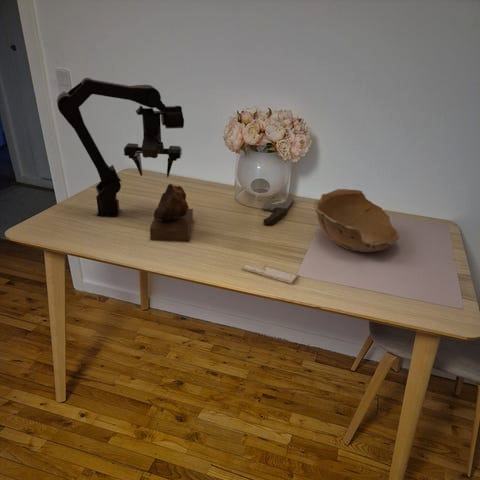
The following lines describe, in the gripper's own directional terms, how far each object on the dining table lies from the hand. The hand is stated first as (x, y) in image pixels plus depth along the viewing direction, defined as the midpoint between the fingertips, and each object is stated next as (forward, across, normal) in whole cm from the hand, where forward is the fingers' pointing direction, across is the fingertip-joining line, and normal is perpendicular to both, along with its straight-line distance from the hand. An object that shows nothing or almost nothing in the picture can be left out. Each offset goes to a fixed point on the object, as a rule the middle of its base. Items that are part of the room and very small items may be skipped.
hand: (154, 176), depth 153 cm
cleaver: (+12, +44, +4) cm, 46 cm away
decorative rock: (+8, +8, -17) cm, 20 cm away
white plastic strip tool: (+12, +39, -44) cm, 60 cm away
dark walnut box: (+12, +8, -17) cm, 22 cm away
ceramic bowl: (+12, +68, -19) cm, 72 cm away
